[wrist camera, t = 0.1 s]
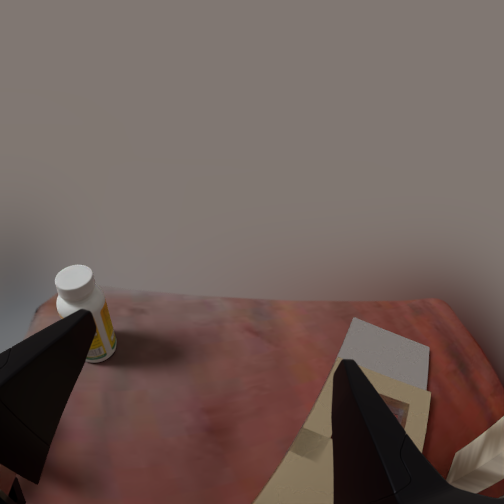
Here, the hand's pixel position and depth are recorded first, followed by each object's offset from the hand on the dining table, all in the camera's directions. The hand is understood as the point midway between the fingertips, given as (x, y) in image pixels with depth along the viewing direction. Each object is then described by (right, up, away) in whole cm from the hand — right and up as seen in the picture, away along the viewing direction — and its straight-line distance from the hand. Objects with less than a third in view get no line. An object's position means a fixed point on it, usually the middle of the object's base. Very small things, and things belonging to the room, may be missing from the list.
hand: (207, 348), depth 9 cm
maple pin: (+23, -20, +5) cm, 31 cm away
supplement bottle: (-16, -7, +17) cm, 25 cm away
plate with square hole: (+12, -14, +12) cm, 22 cm away
